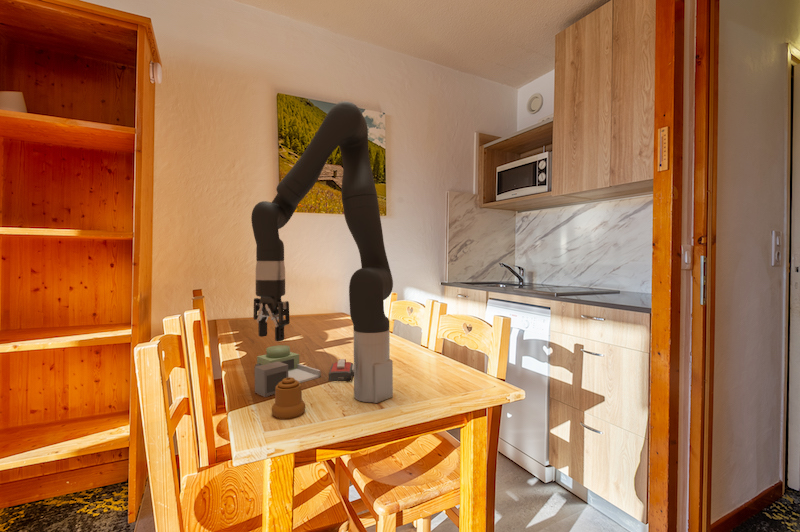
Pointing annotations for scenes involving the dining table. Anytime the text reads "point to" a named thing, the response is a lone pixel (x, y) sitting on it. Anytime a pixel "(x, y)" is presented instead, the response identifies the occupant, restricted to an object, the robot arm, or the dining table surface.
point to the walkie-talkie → (341, 371)
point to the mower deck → (290, 358)
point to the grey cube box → (269, 377)
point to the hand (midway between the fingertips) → (271, 338)
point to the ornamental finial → (288, 399)
